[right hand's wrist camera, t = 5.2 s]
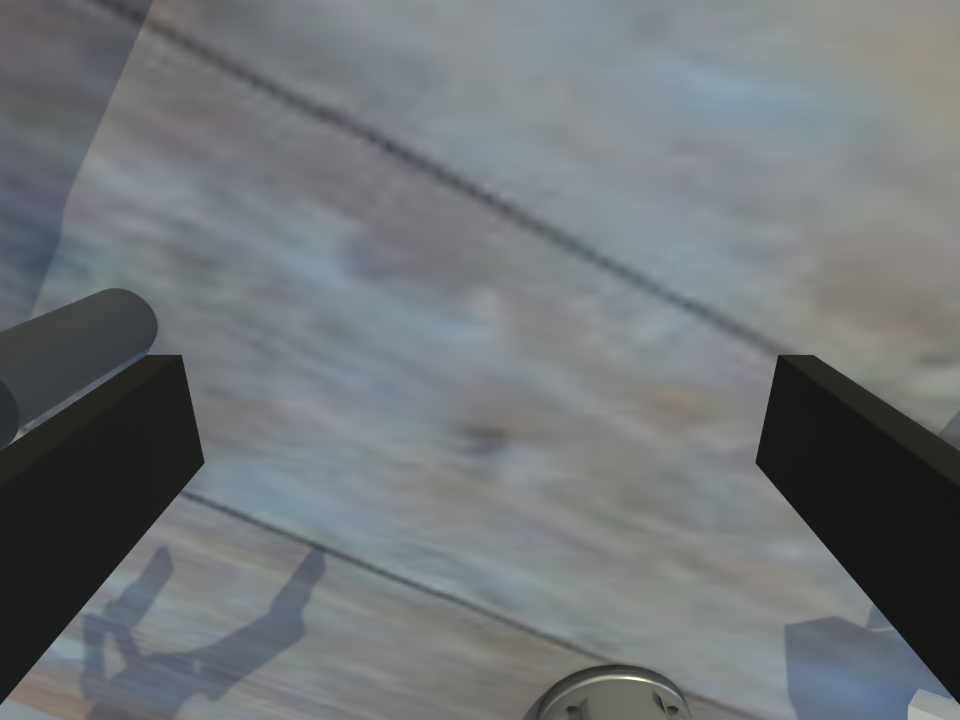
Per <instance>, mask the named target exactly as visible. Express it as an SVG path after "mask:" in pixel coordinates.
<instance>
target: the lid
mask: <svg viewBox="0 0 960 720" xmlns="http://www.w3.org/2000/svg"><path fill="white" fill-rule="evenodd" d="M18 427H19V412H18V408H17V405H16V402H15V400H14V398H13V396H12V394H11V393H10V391H9V390H8V388H7V387H6V386H5V384H4V383H3V382H2V381H1V380H0V451H1V450H2V449H4V448H5V447H7V446H8V445H9V444H10V443H11V442H12V441H13V439H14V438H15V436H16V434H17V431H18Z"/></svg>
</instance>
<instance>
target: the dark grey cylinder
mask: <svg viewBox="0 0 960 720" xmlns="http://www.w3.org/2000/svg"><path fill="white" fill-rule="evenodd" d="M156 334H157V321H156V318H155V315H154V313H153V311H152V309H151V308H150V307H149V305H148V304H147V303H146V302H145V301H144V300H143V299H142V298H140V297H139V296H138V295H136V294H134V293H132V292H130V291H127V290H123V289H117V288H113V289H106V290H103V291H101V292H98V293H96V294H93V295H91V296H88V297H86V298H84V299H81V300H79V301H76V302H74V303H71V304H69V305H66V306H64V307H62V308H59V309H57V310H54V311H52V312H49V313H47V314H44V315H42V316H40V317H37V318H35V319H32V320H30V321H27V322H25V323H22V324H20V325H17V326H15V327H13V328H10V329H8V330H5V331H3V332H0V380H1V381H2V382H3V383H4V384H5V386H6V387H7V388H8V390H9V391H10V393H11V394H12V396H13V398H14V400H15V402H16V405H17V408H18V412H19V427H18V429H20V428H21V427H23V426H24V425H26V424H28V423H29V422H31V421H32V420H34V419H36V418H37V417H39V416H40V415H42V414H43V413H45V412H47V411H48V410H50V409H51V408H53V407H54V406H56V405H58V404H59V403H61V402H62V401H64V400H65V399H67V398H69V397H70V396H72V395H73V394H75V393H76V392H78V391H80V390H81V389H83V388H84V387H86V386H88V385H89V384H91V383H92V382H94V381H95V380H97V379H99V378H100V377H102V376H103V375H105V374H106V373H108V372H110V371H111V370H113V369H114V368H116V367H117V366H119V365H121V364H122V363H124V362H125V361H127V360H128V359H130V358H132V357H133V356H135V355H136V354H138V353H140V352H141V351H143V350H144V349H146V348H147V347H149V346H150V345H151V344H152V342H153V341H154V339H155V337H156Z"/></svg>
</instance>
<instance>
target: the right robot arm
mask: <svg viewBox="0 0 960 720" xmlns="http://www.w3.org/2000/svg"><path fill="white" fill-rule="evenodd" d="M204 463H205V462H204V458H203V453H202V448H201V444H200V439H199V434H198V430H197V425H196V420H195V416H194V411H193V406H192V401H191V397H190V392H189V387H188V383H187V378H186V373H185V369H184V364H183V359H182V355H146V356H145V357H143V358H141V359H140V360H138V361H137V362H135V363H134V364H132V365H131V366H129V367H128V368H126V369H125V370H123V371H122V372H120V373H119V374H117V375H116V376H114V377H113V378H111V379H109V380H108V381H106V382H105V383H103V384H102V385H100V386H99V387H97V388H96V389H94V390H93V391H91V392H90V393H88V394H87V395H85V396H84V397H82V398H80V399H79V400H77V401H76V402H74V403H73V404H71V405H70V406H68V407H67V408H65V409H64V410H62V411H61V412H59V413H58V414H56V415H55V416H53V417H52V418H50V419H48V420H47V421H45V422H44V423H42V424H41V425H39V426H38V427H36V428H35V429H33V430H32V431H30V432H29V433H27V434H26V435H24V436H23V437H21V438H19V439H18V440H16V441H15V442H13V443H12V444H10V445H9V446H7V447H6V448H4V449H3V450H1V451H0V705H1V703H2V702H3V701H4V700H5V699H6V698H7V696H8V695H9V694H10V693H11V692H12V690H13V689H14V688H15V687H16V686H17V685H18V683H19V682H20V681H21V680H22V679H23V677H24V676H25V675H26V674H27V673H28V671H29V670H30V669H31V668H32V667H33V666H34V664H35V663H36V662H37V661H38V660H39V658H40V657H41V656H42V655H43V654H44V653H45V651H46V650H47V649H48V648H49V647H50V645H51V644H52V643H53V642H54V641H55V639H56V638H57V637H58V636H59V635H60V634H61V632H62V631H63V630H64V629H65V628H66V626H67V625H68V624H69V623H70V622H71V621H72V619H73V618H74V617H75V616H76V615H77V613H78V612H79V611H80V610H81V609H82V607H83V606H84V605H85V604H86V603H87V602H88V600H89V599H90V598H91V597H92V596H93V594H94V593H95V592H96V591H97V590H98V589H99V587H100V586H101V585H102V584H103V583H104V581H105V580H106V579H107V578H108V577H109V575H110V574H111V573H112V572H113V571H114V570H115V568H116V567H117V566H118V565H119V564H120V562H121V561H122V560H123V559H124V558H125V557H126V555H127V554H128V553H129V552H130V551H131V549H132V548H133V547H134V546H135V545H136V543H137V542H138V541H139V540H140V539H141V538H142V536H143V535H144V534H145V533H146V532H147V530H148V529H149V528H150V527H151V526H152V525H153V523H154V522H155V521H156V520H157V519H158V517H159V516H160V515H161V514H162V513H163V512H164V510H165V509H166V508H167V507H168V506H169V504H170V503H171V502H172V501H173V500H174V498H175V497H176V496H177V495H178V494H179V493H180V491H181V490H182V489H183V488H184V487H185V485H186V484H187V483H188V482H189V481H190V480H191V478H192V477H193V476H194V475H195V474H196V472H197V471H198V470H199V469H200V468H201V466H202V465H203V464H204ZM755 463H756V464H757V465H758V466H759V468H760V469H761V470H762V471H763V472H764V474H765V475H766V476H767V477H768V478H769V480H770V481H771V482H772V483H773V484H774V485H775V487H776V488H777V489H778V490H779V491H780V493H781V494H782V495H783V496H784V497H785V498H786V500H787V501H788V502H789V503H790V504H791V506H792V507H793V508H794V509H795V510H796V512H797V513H798V514H799V515H800V516H801V517H802V519H803V520H804V521H805V522H806V523H807V525H808V526H809V527H810V528H811V529H812V530H813V532H814V533H815V534H816V535H817V536H818V538H819V539H820V540H821V541H822V542H823V543H824V545H825V546H826V547H827V548H828V549H829V551H830V552H831V553H832V554H833V555H834V557H835V558H836V559H837V560H838V561H839V562H840V564H841V565H842V566H843V567H844V568H845V570H846V571H847V572H848V573H849V574H850V575H851V577H852V578H853V579H854V580H855V581H856V583H857V584H858V585H859V586H860V587H861V589H862V590H863V591H864V592H865V593H866V594H867V596H868V597H869V598H870V599H871V600H872V602H873V603H874V604H875V605H876V606H877V607H878V609H879V610H880V611H881V612H882V613H883V615H884V616H885V617H886V618H887V619H888V621H889V622H890V623H891V624H892V625H893V626H894V628H895V629H896V630H897V631H898V632H899V634H900V635H901V636H902V637H903V638H904V639H905V641H906V642H907V643H908V644H909V645H910V647H911V648H912V649H913V650H914V651H915V653H916V654H917V655H918V656H919V657H920V658H921V660H922V661H923V662H924V663H925V664H926V666H927V667H928V668H929V669H930V670H931V671H932V673H933V674H934V675H935V676H936V677H937V679H938V680H939V681H940V682H941V683H942V685H943V686H944V687H945V688H946V689H947V690H948V692H949V693H950V694H951V695H952V696H953V698H954V699H955V700H956V701H957V702H958V703H959V705H960V451H959V450H957V449H956V448H954V447H953V446H951V445H950V444H948V443H947V442H945V441H944V440H942V439H941V438H939V437H937V436H936V435H934V434H933V433H931V432H930V431H928V430H927V429H925V428H924V427H922V426H921V425H919V424H918V423H916V422H915V421H913V420H912V419H910V418H908V417H907V416H905V415H904V414H902V413H901V412H899V411H898V410H896V409H895V408H893V407H892V406H890V405H889V404H887V403H886V402H884V401H883V400H881V399H880V398H878V397H876V396H875V395H873V394H872V393H870V392H869V391H867V390H866V389H864V388H863V387H861V386H860V385H858V384H857V383H855V382H854V381H852V380H851V379H849V378H847V377H846V376H844V375H843V374H841V373H840V372H838V371H837V370H835V369H834V368H832V367H831V366H829V365H828V364H826V363H825V362H823V361H822V360H820V359H819V358H817V357H815V356H814V355H778V359H777V364H776V369H775V373H774V378H773V383H772V387H771V392H770V397H769V401H768V406H767V411H766V416H765V420H764V425H763V430H762V434H761V439H760V444H759V448H758V453H757V458H756V462H755ZM536 720H692V719H691V715H690V712H689V710H688V707H687V704H686V701H685V699H684V697H683V695H682V693H681V692H680V690H679V689H678V688H677V687H676V686H675V685H674V684H673V683H672V682H671V681H669V680H668V679H667V678H665V677H663V676H662V675H660V674H658V673H655V672H653V671H650V670H647V669H643V668H639V667H634V666H622V665H615V666H603V667H597V668H593V669H589V670H585V671H582V672H580V673H577V674H575V675H573V676H571V677H569V678H567V679H565V680H564V681H562V682H560V683H559V684H558V685H556V686H555V687H554V688H553V689H552V690H551V691H550V692H549V693H548V694H547V695H546V697H545V698H544V699H543V701H542V703H541V705H540V707H539V709H538V713H537V718H536Z"/></svg>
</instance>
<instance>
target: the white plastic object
mask: <svg viewBox="0 0 960 720" xmlns="http://www.w3.org/2000/svg"><path fill="white" fill-rule="evenodd" d="M907 720H960V705H959V703H958V702H957V701H954V700H951V699H948V698H945V697H942V696H940V695H937V694H934V693H931V692H928V691H926V690H923V689H920V688H919V689H918V690H917V692H916V694H915V695H914V697H913V699H912V700H911V702H910V704H909V705H908V719H907Z"/></svg>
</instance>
